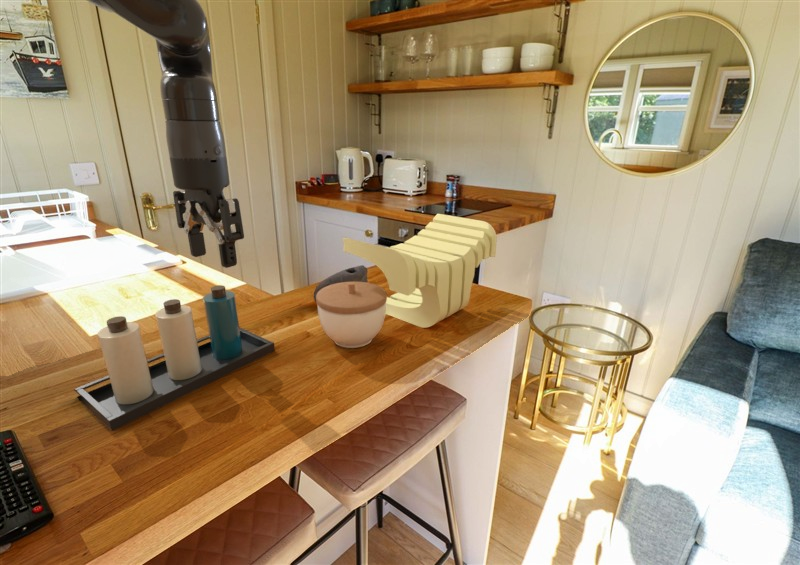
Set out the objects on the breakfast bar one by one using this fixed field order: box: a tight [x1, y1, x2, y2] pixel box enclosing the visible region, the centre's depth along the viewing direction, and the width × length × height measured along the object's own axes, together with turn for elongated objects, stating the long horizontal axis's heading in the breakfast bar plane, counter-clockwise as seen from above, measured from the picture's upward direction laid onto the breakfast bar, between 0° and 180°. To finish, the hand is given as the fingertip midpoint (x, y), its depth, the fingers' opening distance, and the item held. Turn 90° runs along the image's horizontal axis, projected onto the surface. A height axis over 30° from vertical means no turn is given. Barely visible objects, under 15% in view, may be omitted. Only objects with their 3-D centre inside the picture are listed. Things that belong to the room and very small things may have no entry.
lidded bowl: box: [315, 282, 388, 349], centre depth 77 cm, size 13×13×11 cm
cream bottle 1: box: [97, 315, 154, 405], centre depth 59 cm, size 5×5×12 cm
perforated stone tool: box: [313, 264, 369, 304], centre depth 94 cm, size 15×5×7 cm, turn 133°
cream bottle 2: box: [154, 298, 202, 380], centre depth 65 cm, size 5×5×12 cm
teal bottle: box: [202, 284, 243, 360], centre depth 70 cm, size 5×5×12 cm
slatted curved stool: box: [342, 213, 498, 329], centre depth 88 cm, size 30×16×18 cm, turn 139°
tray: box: [73, 326, 276, 432], centre depth 67 cm, size 12×26×2 cm, turn 144°
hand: (213, 260), depth 67 cm, fingers open, 8 cm apart
